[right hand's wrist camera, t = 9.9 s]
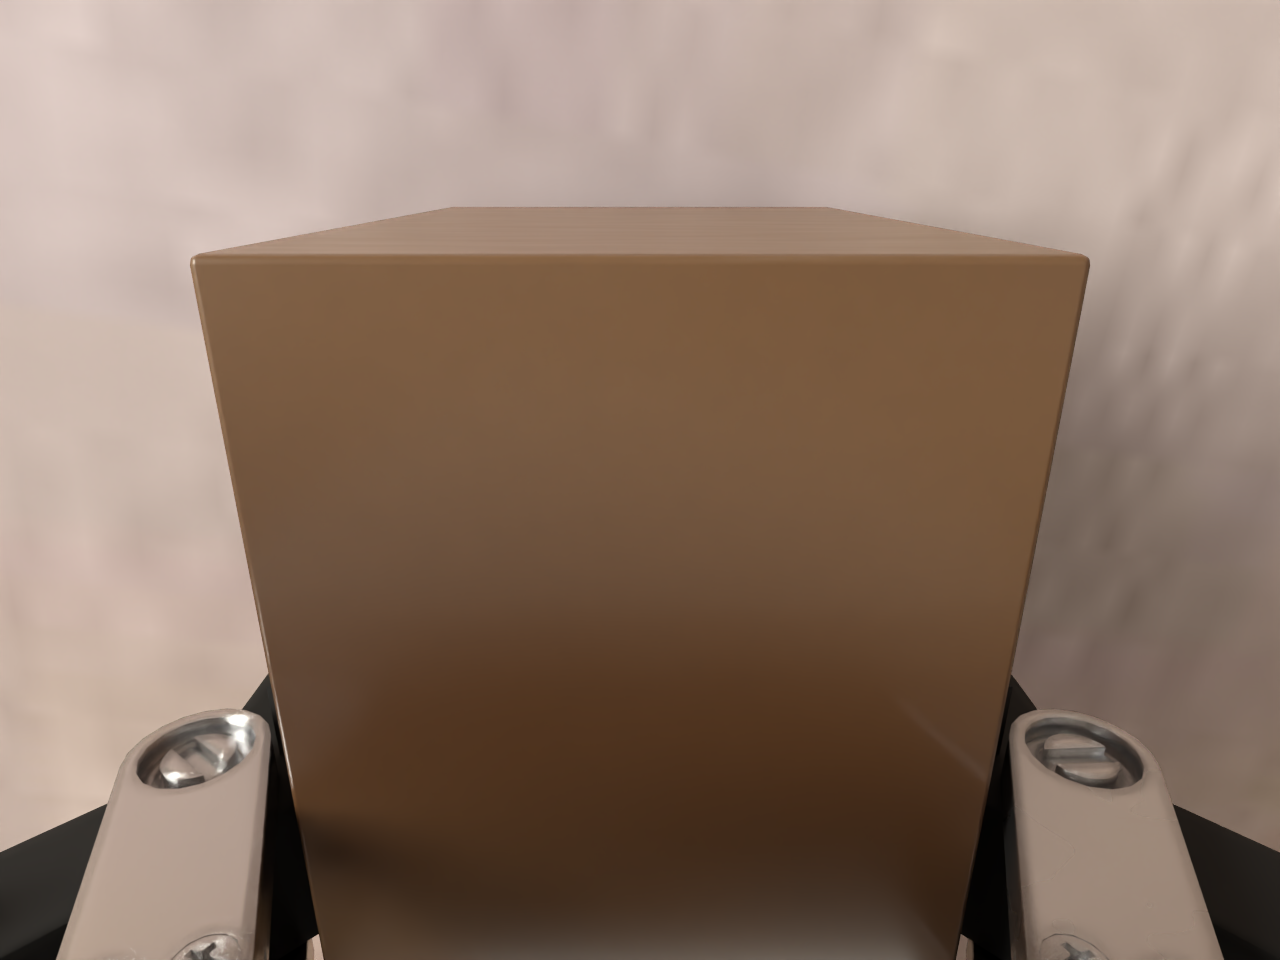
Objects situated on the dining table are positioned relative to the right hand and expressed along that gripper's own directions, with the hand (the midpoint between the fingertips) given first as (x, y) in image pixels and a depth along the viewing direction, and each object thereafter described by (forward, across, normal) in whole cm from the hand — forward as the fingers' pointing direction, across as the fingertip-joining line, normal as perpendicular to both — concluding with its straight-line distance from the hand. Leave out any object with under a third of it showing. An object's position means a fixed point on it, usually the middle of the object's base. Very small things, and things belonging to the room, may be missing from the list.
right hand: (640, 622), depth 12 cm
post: (+2, 0, -27) cm, 27 cm away
